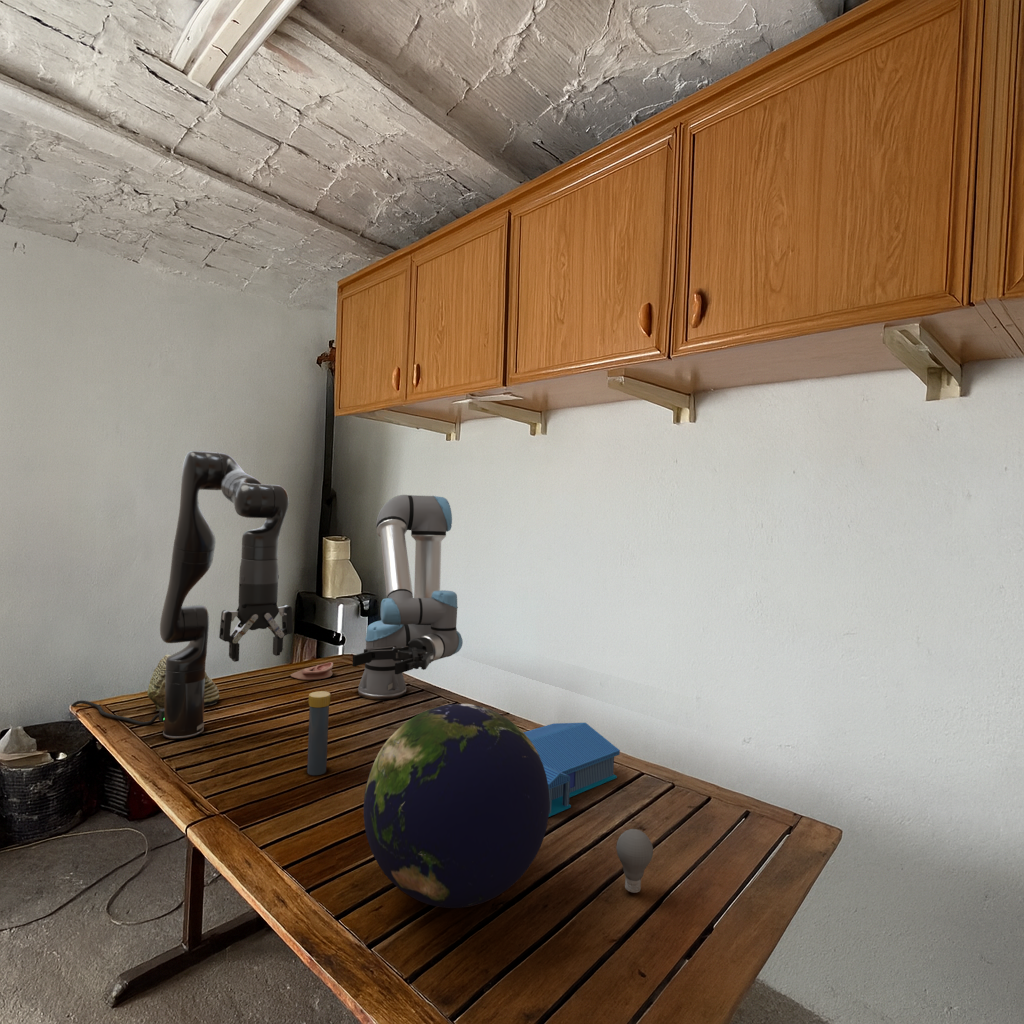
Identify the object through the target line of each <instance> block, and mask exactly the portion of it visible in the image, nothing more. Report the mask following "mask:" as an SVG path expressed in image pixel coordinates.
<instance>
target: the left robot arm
mask: <svg viewBox="0 0 1024 1024" xmlns="http://www.w3.org/2000/svg"><path fill="white" fill-rule="evenodd" d="M204 490H206V491H221V493H222V495H223V496H224V497H225V499H227V500H228V501H229V502H231V503H232V504H233V506H234V510H235V512H236V514H237V515H238V516H240V517H242V518H246V519H265V521H264V523H263V524H262V525H261V526H260V527H258V528H253V529H248V530H246V531H244V533H243V534H242V538H241V559H240V566H239V576H238V580H239V581H238V606H237V609H236V610H228V609H223V610H222V611H221V613H220V622H219V623H220V626H219V635H218V638H219V639H220V640H222V641H223V642H228V657H229V659H231V661H232V662H234V663H235V662H240V644H241V643H239V642H240V641H241V639H242V638H243V636H244V635H246V634H247V633H248V631H249V630H250V631H256V630H258V629H260V630H267V628H268V629H269V631H271V633H272V634H273V635H274V636H273V637H272V655H274V656H276V657H277V656H278V657H279V656H280V655H281V653H282V652H283V650H284V648H283V646H284V637H286V636H287V635H291V634H292V633H293V607H292V606H290V605H287V604H282V606H278V594H279V592H278V591H279V579H280V575H279V561H278V560H279V559H278V557H279V539H280V535H281V532H282V527H283V525H284V521H285V518H286V516H287V513H288V509H289V506H290V505H289V504H290V497H289V494H288V491H287V490H286V489H285V487H283V486H282V485H278V484H262V482H261V481H260V480H259V479H257V478H256V477H254V476H252V475H251V474H248V473H246V472H245V471H244V469H243V468H242V467H241V466H240V465H239V463H238V462H237V461H236V460H235V459H234V458H233V457H232V456H231V455H229V454H227V453H224V452H216V451H205V450H204V451H203V450H191V451H188V452H187V453H186V455H185V457H184V460H183V463H182V471H181V483H180V500H179V509H178V510H179V512H178V518H177V524H176V530H175V535H174V542H173V546H172V554H171V563H170V564H171V565H170V572H169V579H168V586H167V590H166V594H165V599H164V603H163V608H162V611H161V616H160V622H159V634H160V635H159V636H160V638H161V640H162V641H163V642H164V643H166V644H178V643H188V644H187V645H186V646H184V647H183V648H182V649H180V650H179V651H177V652H175V653H173V654H170V655H171V656H169V657H168V658H167V660H166V674H165V705H164V708H163V709H159V710H158V713H156V714H155V715H154V716H153V717H152V718H151V720H148V721H141V720H140V721H139V720H135V719H133V718H131V717H125V716H122V715H121V716H120V715H116V714H111V713H108V712H106V711H105V710H104V709H103V708H102V706H101V705H100V704H97V703H94V702H91V701H88V700H83V699H81V700H77V701H76V700H75V702H73V703H72V704H71V707H76V706H78V705H80V704H81V705H87V706H90V707H93V708H96V709H97V710H98V713H99V714H100V715H101V716H104V717H107V718H111V719H114V720H120V721H123V722H129V723H130V724H133V725H134V724H135V725H139V726H140V725H141V726H149V725H151V724H153V723H154V722H156V720H157V719H158V720H159V721H160V723H163V731H162V737H164V738H166V739H169V740H185V739H190V738H191V739H192V738H194V737H197V736H199V735H202V734H203V732H204V730H205V729H204V727H205V721H204V718H205V706H204V693H205V672H206V664H207V663H206V660H207V653H208V640H209V633H210V631H209V630H210V615H209V614H210V613H209V610H208V609H207V607H206V606H205V605H203V604H194V605H193V604H192V605H183V604H184V603H185V600H186V598H187V596H188V595H189V593H190V592H191V590H192V589H193V588H194V587H195V586H196V585H197V584H198V583H199V581H200V580H201V579H202V578H203V577H204V576H205V575H206V573H208V571H209V570H210V568H211V566H212V564H213V561H214V554H215V548H216V536H215V534H214V531H213V529H212V526H210V524H209V522H208V521H207V519H206V517H205V516H204V513H203V511H202V508H201V507H200V506H201V505H200V503H199V492H200V491H204ZM278 615H279V616H281V626H282V627H281V628H280V626H279V624H278V623H277V622H276V620H275V619H276V617H277V616H278ZM235 618H237V619H238V622H237V624H236V626H234V629H233V631H231V630H232V623H233V622H234V621H235Z"/></svg>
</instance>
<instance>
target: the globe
mask: <svg viewBox="0 0 1024 1024" xmlns="http://www.w3.org/2000/svg"><path fill="white" fill-rule="evenodd" d="M523 732H524V731H523V730H522V729H521V728H520V727H519V726H517V724H515V723H514V722H513V721H512V720H510V719H509V718H507V717H505V716H504V715H503V714H501V713H498V712H497V711H494V710H493V709H490V708H486V707H484V706H479V705H476V704H472V703H450V704H444V705H440V706H439V705H438V706H436V707H432V708H429V709H427V710H425V711H423V712H420V713H419V714H416V715H415V716H413V717H412V718H410V719H408V720H407V721H406V722H404V723H403V724H401V726H400V727H398V729H396V730H395V731H394V732H393V734H392V735H391V736H390V737H388V739H387V740H386V741H385V742H384V744H383V745H382V747H381V748H380V750H379V752H378V753H377V755H376V758H375V759H374V762H373V764H372V766H371V768H370V771H369V774H368V778H367V781H366V783H365V790H364V797H363V824H364V830H365V835H366V839H367V842H368V845H369V848H370V851H371V854H372V856H373V858H374V859H375V861H376V863H377V864H378V867H379V868H380V869H381V871H382V872H383V874H384V875H385V876H386V877H387V878H388V879H389V881H390V882H391V883H392V884H393V885H394V886H395V887H396V888H398V890H400V891H402V893H404V894H406V895H407V896H409V897H411V898H413V899H414V900H415V901H418V902H421V903H423V904H425V905H429V906H433V907H437V908H442V909H443V908H444V909H462V908H470V907H474V906H477V905H480V904H484V903H487V902H489V901H491V900H493V899H495V898H496V897H498V896H500V895H501V894H503V893H505V892H506V891H508V890H509V889H510V888H511V887H512V886H513V885H515V884H516V883H517V882H518V881H519V880H520V879H521V878H522V876H524V874H525V873H526V872H527V870H528V869H529V868H530V866H531V865H532V864H533V862H534V860H535V858H536V857H537V855H538V853H539V851H540V848H541V846H542V844H543V841H544V839H545V835H546V832H547V827H548V823H549V788H548V782H547V777H546V773H545V770H544V766H543V764H542V761H541V759H540V756H539V754H538V752H537V750H536V749H535V747H534V745H533V744H532V742H531V741H530V739H529V738H528V737H527V736H526V735H525V734H524V733H523Z"/></svg>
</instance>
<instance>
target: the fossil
mask: <svg viewBox="0 0 1024 1024" xmlns="http://www.w3.org/2000/svg"><path fill="white" fill-rule="evenodd" d="M171 655H172V654H165V655H164V656H163V657H162V658H161V659H160V660H159V662H158V663H157V666H156V667H155V669H154V670H153V672H152V675H151V677H150V680H149V684H148V688H147V697H148V699H149V700H150V701H152V703H153V704H154V706H155V711H159V709H163V708H164V705H165V674H166V660H167V658H168V657H169V656H171ZM220 698H221V696H220V690H219V688H218V686H217V685H216V683H215V682H214V681H213V679H212V678H211V677H209V675H208V674H207V672H206V671H205V693H204V707H207V706H213V705H215V704H217V703H218V701H219V699H220Z"/></svg>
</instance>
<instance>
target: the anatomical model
mask: <svg viewBox="0 0 1024 1024" xmlns="http://www.w3.org/2000/svg"><path fill="white" fill-rule="evenodd" d="M333 667H334V662H331V661H329V662H326V663H321V664H317V665H313V666H311V667H305V668H302V669H300V670H297V671H295V672H292V673H291V674H290V677H291V678H294V679H298V680H304V681H307V680H310V681H311V680H321V679H323V680H324V679H327V678H330V677H331V676H333V674H334V673H333V671H332V669H333Z"/></svg>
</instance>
